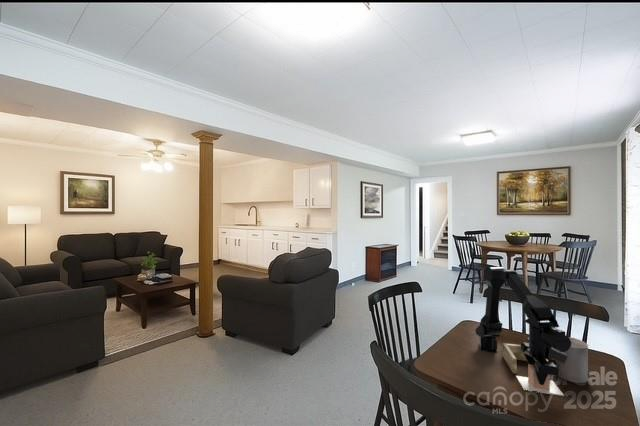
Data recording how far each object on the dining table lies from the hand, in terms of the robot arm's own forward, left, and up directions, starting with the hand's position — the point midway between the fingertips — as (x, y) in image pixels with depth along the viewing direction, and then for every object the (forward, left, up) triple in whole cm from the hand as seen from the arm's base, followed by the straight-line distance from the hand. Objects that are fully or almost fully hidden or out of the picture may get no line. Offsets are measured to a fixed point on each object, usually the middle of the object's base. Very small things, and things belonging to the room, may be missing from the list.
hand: (538, 380), depth 110 cm
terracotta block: (0, 0, -2) cm, 2 cm away
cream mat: (0, 0, -2) cm, 2 cm away
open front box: (0, +13, -2) cm, 13 cm away
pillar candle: (+15, +11, -2) cm, 18 cm away
